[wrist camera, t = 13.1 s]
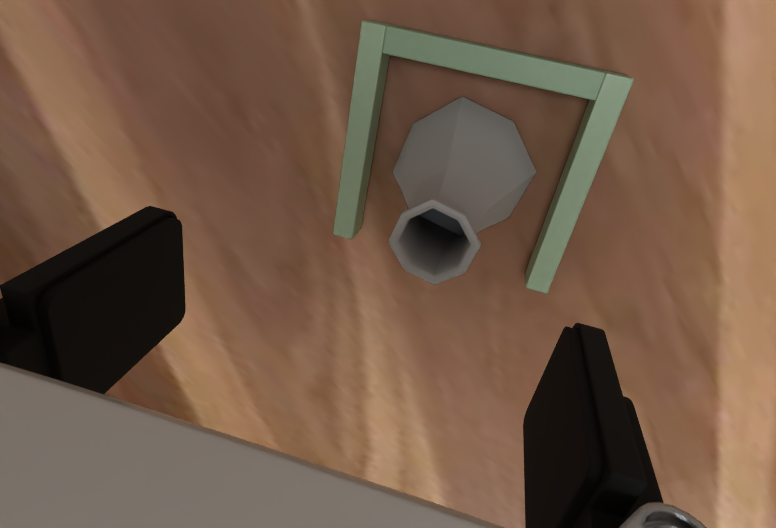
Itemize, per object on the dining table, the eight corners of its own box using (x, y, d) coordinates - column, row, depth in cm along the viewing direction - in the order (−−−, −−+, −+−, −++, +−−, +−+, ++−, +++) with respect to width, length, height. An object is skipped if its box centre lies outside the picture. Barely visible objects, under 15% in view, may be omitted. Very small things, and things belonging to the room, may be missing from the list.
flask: (371, 169, 27) (302, 238, 19) (463, 68, 24) (429, 95, 15) (461, 255, 28) (435, 359, 20) (562, 170, 25) (583, 250, 16)
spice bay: (342, 223, 29) (332, 234, 28) (372, 20, 24) (361, 20, 22) (545, 278, 28) (547, 294, 26) (626, 74, 22) (634, 78, 21)
